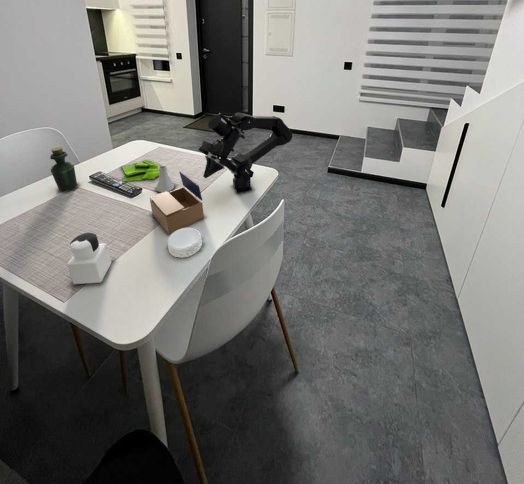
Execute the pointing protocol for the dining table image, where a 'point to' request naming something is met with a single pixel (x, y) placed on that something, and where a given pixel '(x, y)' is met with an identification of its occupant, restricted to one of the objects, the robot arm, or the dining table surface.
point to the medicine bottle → (88, 259)
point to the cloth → (141, 171)
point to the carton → (176, 209)
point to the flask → (164, 180)
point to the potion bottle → (63, 170)
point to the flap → (191, 185)
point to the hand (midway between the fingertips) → (204, 177)
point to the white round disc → (184, 242)
